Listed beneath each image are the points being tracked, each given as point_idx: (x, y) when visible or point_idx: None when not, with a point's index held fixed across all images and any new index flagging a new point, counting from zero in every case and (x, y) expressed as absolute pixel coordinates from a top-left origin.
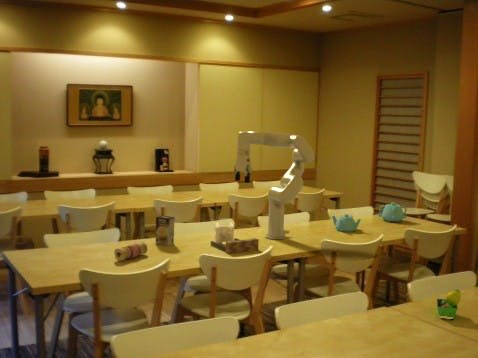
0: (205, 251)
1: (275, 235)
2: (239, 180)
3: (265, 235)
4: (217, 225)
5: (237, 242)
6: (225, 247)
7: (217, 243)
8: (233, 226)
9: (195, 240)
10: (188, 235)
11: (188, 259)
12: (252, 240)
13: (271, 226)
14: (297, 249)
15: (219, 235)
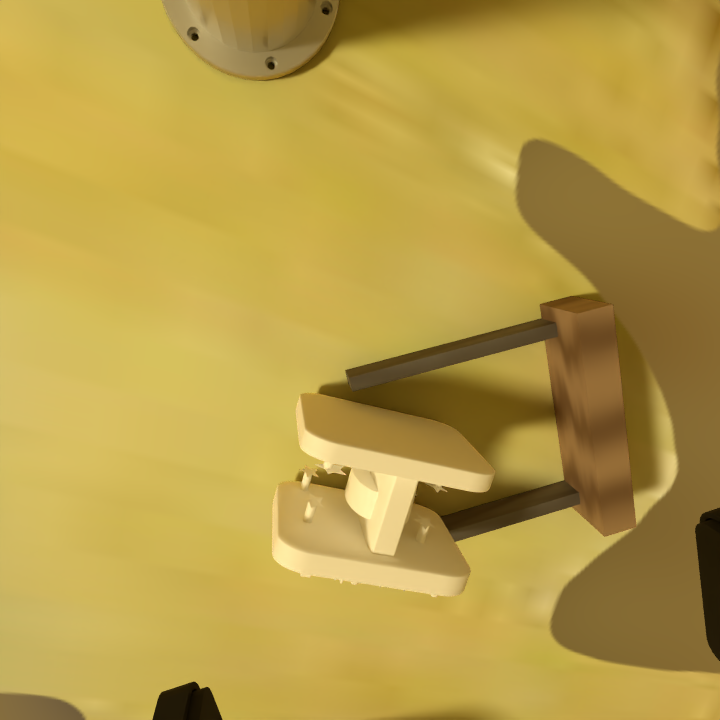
0: (511, 596)
1: (313, 7)
2: (211, 697)
3: (227, 70)
4: (414, 583)
5: (628, 467)
6: (557, 509)
7: (464, 534)
8: (483, 474)
9: (238, 605)
10: (78, 625)
11: (624, 692)
12: (616, 355)
13: (289, 6)
14: (646, 15)
15: (454, 543)
